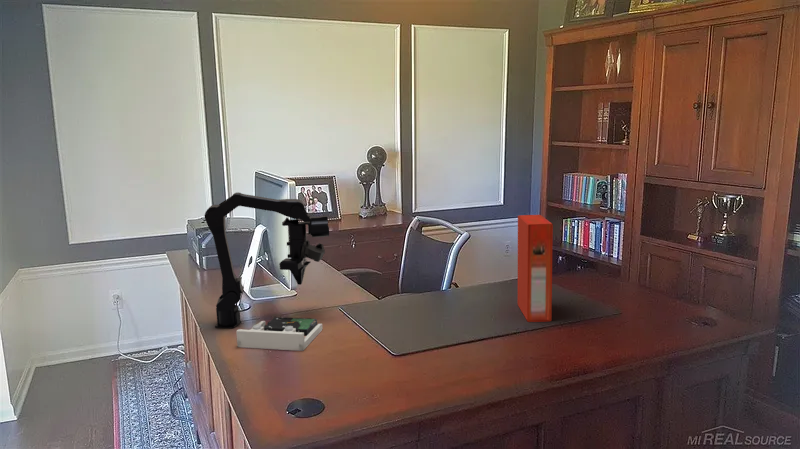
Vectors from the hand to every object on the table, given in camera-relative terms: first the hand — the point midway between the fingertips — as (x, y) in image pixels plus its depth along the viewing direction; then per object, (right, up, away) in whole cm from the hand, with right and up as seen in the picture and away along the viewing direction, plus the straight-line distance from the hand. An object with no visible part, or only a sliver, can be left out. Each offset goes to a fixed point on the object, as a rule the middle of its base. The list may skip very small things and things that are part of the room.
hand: (300, 284), depth 197 cm
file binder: (+78, -10, +3) cm, 79 cm away
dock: (-3, -15, -15) cm, 21 cm away
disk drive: (-2, -14, -7) cm, 16 cm away
